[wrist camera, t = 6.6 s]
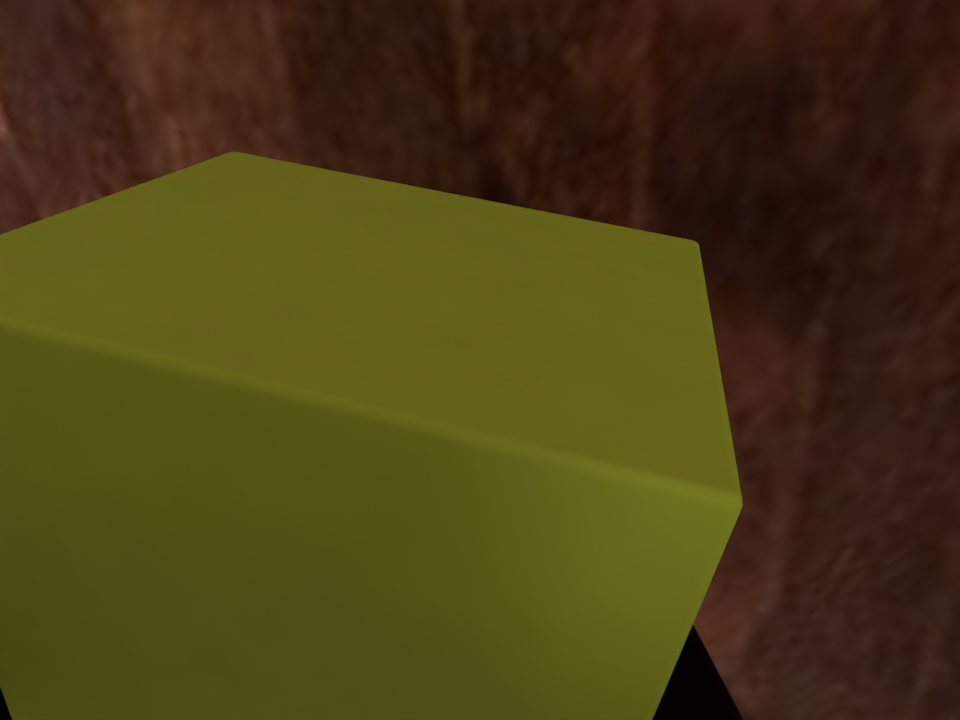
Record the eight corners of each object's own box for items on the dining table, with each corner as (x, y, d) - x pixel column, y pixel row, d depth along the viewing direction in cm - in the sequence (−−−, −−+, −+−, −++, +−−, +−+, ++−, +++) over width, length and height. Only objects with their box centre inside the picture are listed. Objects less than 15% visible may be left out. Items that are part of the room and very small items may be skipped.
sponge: (701, 239, 7) (748, 504, 3) (565, 686, 10) (517, 1044, 7) (230, 148, 7) (-154, 283, 4) (255, 596, 11) (65, 880, 7)
